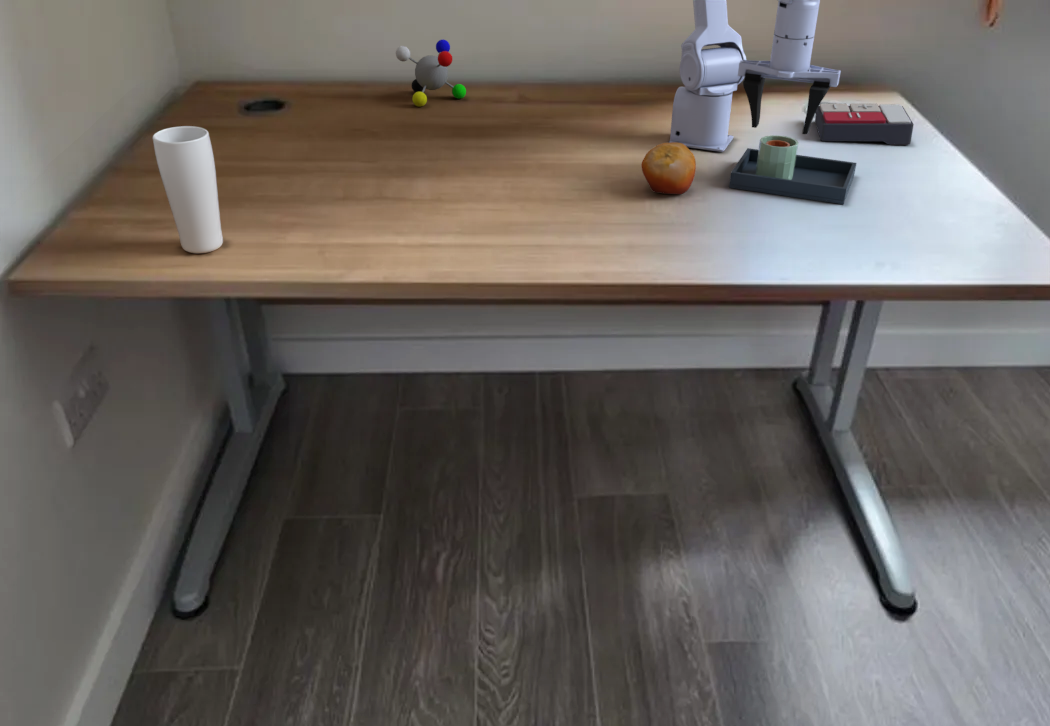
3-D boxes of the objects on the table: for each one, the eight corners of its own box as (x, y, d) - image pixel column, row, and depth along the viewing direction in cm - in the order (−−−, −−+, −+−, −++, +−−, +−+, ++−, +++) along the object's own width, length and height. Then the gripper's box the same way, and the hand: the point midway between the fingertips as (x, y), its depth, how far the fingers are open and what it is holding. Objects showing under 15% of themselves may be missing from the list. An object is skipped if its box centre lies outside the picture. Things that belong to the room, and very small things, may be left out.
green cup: (752, 179, 150) (756, 144, 147) (759, 167, 155) (764, 133, 152) (789, 184, 149) (794, 149, 146) (795, 172, 153) (801, 138, 150)
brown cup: (759, 174, 150) (763, 145, 148) (764, 167, 153) (768, 138, 151) (783, 177, 149) (787, 149, 147) (787, 170, 152) (791, 141, 150)
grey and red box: (816, 101, 175) (903, 100, 173) (814, 125, 177) (899, 125, 175) (823, 119, 166) (915, 119, 164) (820, 144, 168) (910, 145, 166)
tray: (728, 187, 149) (730, 172, 148) (745, 162, 158) (747, 148, 157) (843, 204, 144) (846, 189, 143) (853, 177, 153) (856, 162, 152)
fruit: (702, 171, 150) (701, 135, 143) (690, 212, 147) (688, 178, 140) (651, 165, 153) (647, 129, 145) (638, 205, 149) (634, 170, 142)
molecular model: (389, 104, 182) (385, 49, 177) (422, 87, 192) (419, 34, 186) (443, 112, 179) (441, 57, 173) (474, 94, 188) (473, 41, 183)
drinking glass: (182, 236, 131) (159, 125, 123) (234, 235, 132) (214, 125, 123) (170, 258, 126) (145, 143, 117) (224, 256, 126) (202, 142, 118)
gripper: (738, 35, 139) (727, 130, 147) (841, 46, 135) (825, 143, 142) (748, 25, 144) (737, 117, 152) (848, 35, 140) (831, 129, 148)
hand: (780, 128), depth 148 cm, fingers open, 7 cm apart
